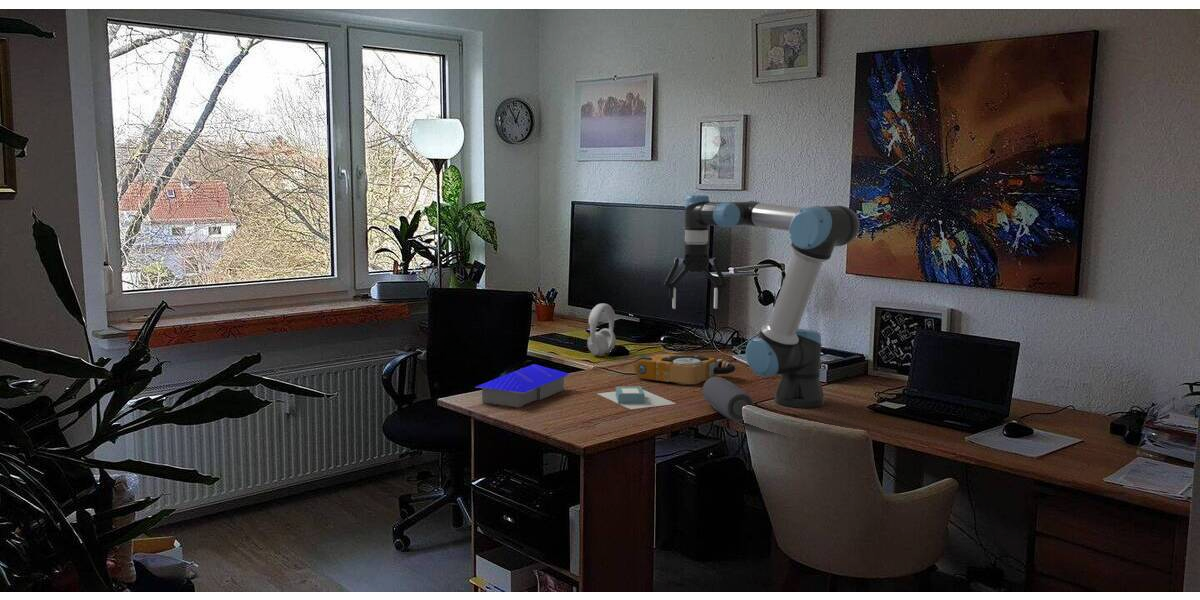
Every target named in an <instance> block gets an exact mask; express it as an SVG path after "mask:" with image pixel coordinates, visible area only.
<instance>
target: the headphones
mask: <svg viewBox="0 0 1200 600" xmlns="http://www.w3.org/2000/svg"><path fill="white" fill-rule="evenodd" d="M603 312H604V315H605V317H606V319H607V321H608V328H605V327H604V328H601V329H600V330H599V331H597V326H598V324H599V320H600V318H601V315H602V313H603ZM615 319H616V313H615V311H614V309H613V307H612V305H610V304H608V303H598V304H596V305H595V306H594V307H593V308H592V310H591V311H590V313H589V316H588V326H589V329H590V330H589V332H590V335H589V337H588V338H587V342H586V343H587V348H588V350H589V351H590V352H591V354H593V356H596V355H598V356H597V357H603V356H604V355H605V353H607V352H609V353H611V352H612V351H613V350H612V349H615V346H616V343H617V339H616V335H615V333H614V327H615ZM611 350H612V351H611ZM610 351H611V352H610ZM607 354H608V353H607Z"/></svg>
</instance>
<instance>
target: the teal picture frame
mask: <svg viewBox="0 0 1200 600" xmlns="http://www.w3.org/2000/svg"><path fill="white" fill-rule="evenodd" d="M643 390H644V389H643V388H642V386H641V385H640V386H639V385H638V386H633V385H632V386H615V391H616V398H617V401H618V403H617V404H618V405H620V404H640V403H644V400H645V394H644V392H643Z"/></svg>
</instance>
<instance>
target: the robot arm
mask: <svg viewBox="0 0 1200 600" xmlns="http://www.w3.org/2000/svg"><path fill="white" fill-rule="evenodd" d="M684 217H685V219H684V242H685V244H684V250H683V251H684V253H683V258H678V257H674V259H673V265H672V267H671V269H670V271H669V273H668V275H667V276H666V278H665V280H664V282H663V286H664V287H667V288H668V290H669V291H668V293H669V295H668V296H669V298H670V299H671V300H672V301H671V302H672V304H671V305H672V309H674V310H676V308H677V307H676V305H677V304H676V303H677V299H676V298H677V289H676V286H677V284H678V283H679V282H681V280H682V279H683V277H685V276H686V274H688V272H691V273H695V272H697V273H702V272H704V273H705V275H706V276H707V277H708V278H709V279H710V281H711V282H712V283H713V284H714V286H715V287H714V288H713V309H715V310H717V309H718V304H719V303H718V300H719V299H721V297H722V289H723V288H726V287H727V286H728V284H727V282H726V279H725V277H724V275H723V273H722V271H721V269H720V267H719V263H718V259H717V258H716V257H713V258H709V257H708V252H709V250H708V249H709V248H708V247H709V245H708V244H707V243H708V242H709V227H710V226H711V227H712V226H714V227H721V228H733V227H734V226H735V227H736V226H750V227H759V228H768V229H775V230H782V231H788V233H789V234H790V236H789V238H790V241H791V244H790V248H791V250H792V252H793V253H792V257H791V259H790V262H789V266H788V268H787V270H786V273H785V276H784V278H783V282H782V284H781V287H780V290H779V293H778V296H777V298H776V301H775V304H774V307H773V310H772V312H771V315H770V318H769V321H768V323H765V324H763V325H762V326H761V328H760V331H759V333H758V336H757V337H755V338H753V339H751V340H750V341H749V342H747V345H746V347H745V359H746V361H747V364H748V366H749V368H750V369H751V371H752V372H753V373H755V375H758V376H760V377H774V376H776V375H781V378H780V380H779V383H778V386H777V389H776V391H775V394H774V402H775V403H777V404H779V405H781V406H786V407H791V408H798V409H799V408H802V409H803V408H804V409H806V408H807V409H809V408H810V409H811V408H819V407H822V406H824V405H825V394H824V391H823V386H822V382H821V378H820V376H821V374H820V373H821V370H820V369H821V352H822V336H821V334H820V332H818V331H816V330H811V329H805V328H799V326H800V324H801V321H802V318H803V316H804V313H805V310H806V308H807V306H808V303H809V301H810V296H811V295H812V292H813V289H814V286H815V284H816V282H817V279H818V276H819V274H820V270H821V268H822V265H823V263H824V262H827V261H829V260H830V258H831V257H832V254H833V252H834V249H835V247H843V246H846V245H848V244H850V243H852V241H854V239H856V237H857V236H858V234H859V231H860V220H859V216H858V215H857V213H856V212H855V211H853V210H852V209H851V208H850V207H847V206H843V205H831V206H830V205H828V206H827V205H825V206H824V205H823V206H821V205H812V206H808V207H801V206H792V205H791V206H789V205H785V204H784V205H783V204H773V203H764V202H763V203H762V202H760V201H755V200H753V201H752V200H749V201H731V202H730V201H729V202H728V201H726V202H725V201H724V202H721V201H720V202H718V201H715V202H714V201H712V202H711V201H710V197H709V196H708V195H706V194H705V195H704V194H688V195H687V196H686V198H685V206H684ZM682 263H683V266H684V267H683V268H682V270H681V271H680V272H679V273H678V274H677V276H676V277H675V278H674V279H673V277H674V275H675V273H676V271H677V270H678V266H681V264H682ZM709 263H710V265H711V266H713V268H714V271H715V272H716V275H717V277H718V279H719V281H720V283H719V281H718V280H717V279H716V278H715V276H713V274H712V273H711V271H710V270H709V269H708V268H707V266H708V264H709ZM672 279H673V280H672ZM671 280H672V281H671Z"/></svg>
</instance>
